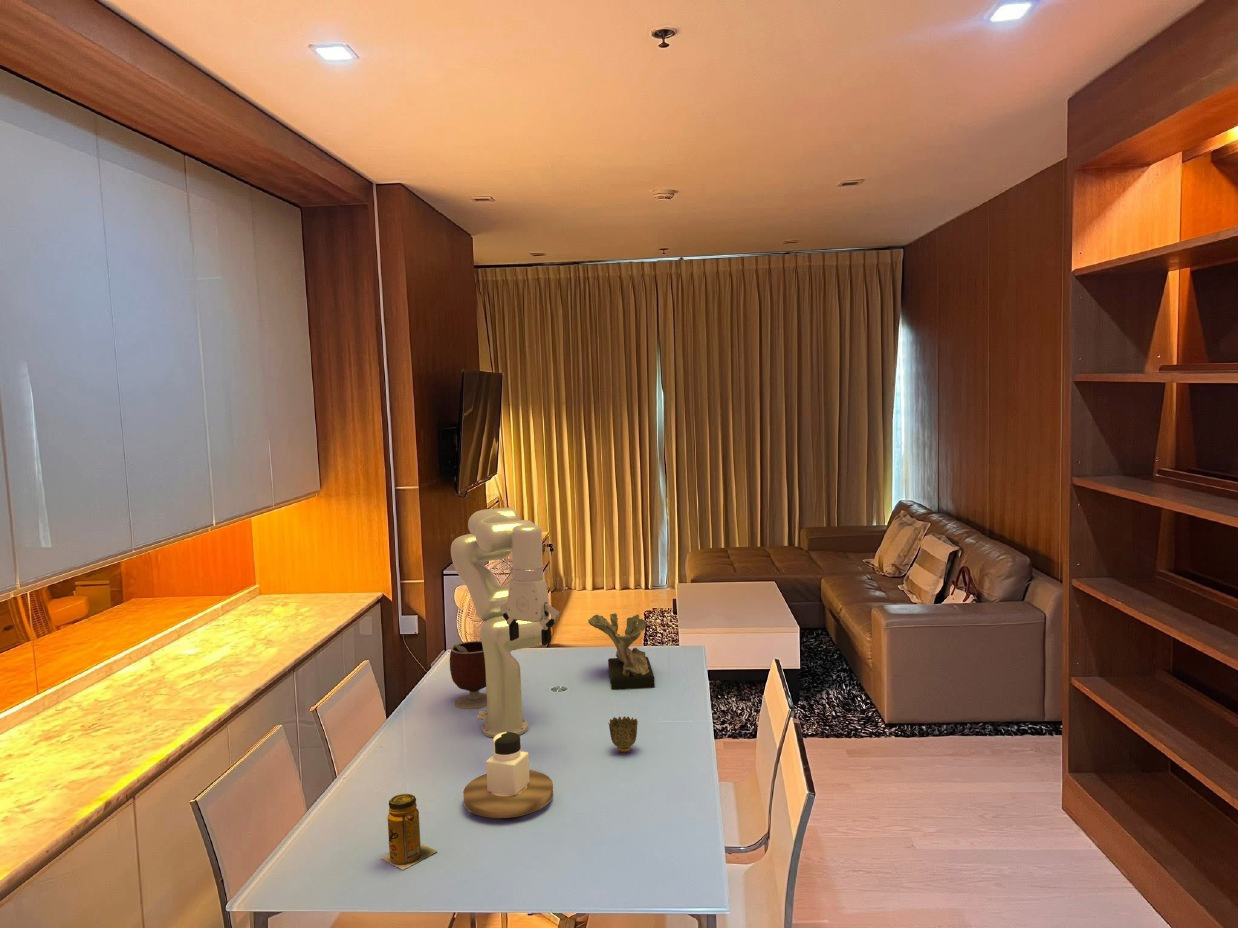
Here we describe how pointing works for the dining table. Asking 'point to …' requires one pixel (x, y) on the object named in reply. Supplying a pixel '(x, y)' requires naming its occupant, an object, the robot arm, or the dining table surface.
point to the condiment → (405, 833)
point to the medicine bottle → (507, 765)
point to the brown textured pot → (623, 733)
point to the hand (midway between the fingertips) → (530, 641)
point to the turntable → (508, 797)
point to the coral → (626, 654)
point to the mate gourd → (469, 673)
